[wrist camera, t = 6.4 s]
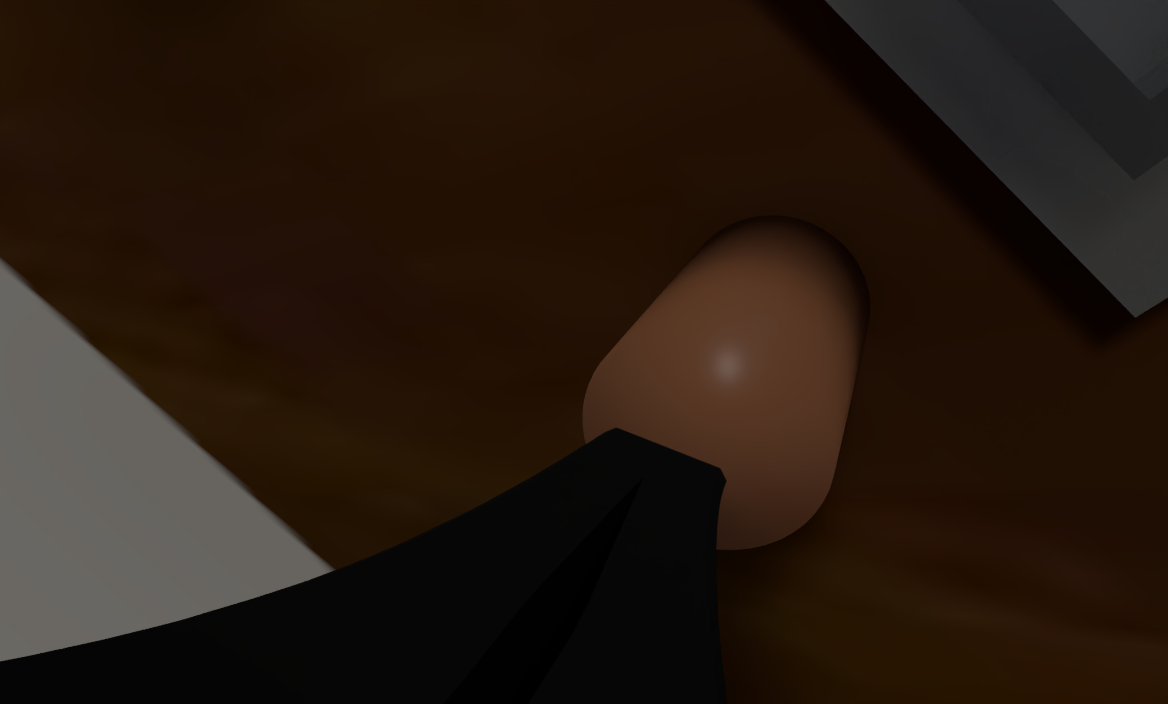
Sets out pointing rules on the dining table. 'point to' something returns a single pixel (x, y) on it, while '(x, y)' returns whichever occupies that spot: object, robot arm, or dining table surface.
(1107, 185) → the breaker panel
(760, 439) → the brown egg
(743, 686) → the dining table surface
